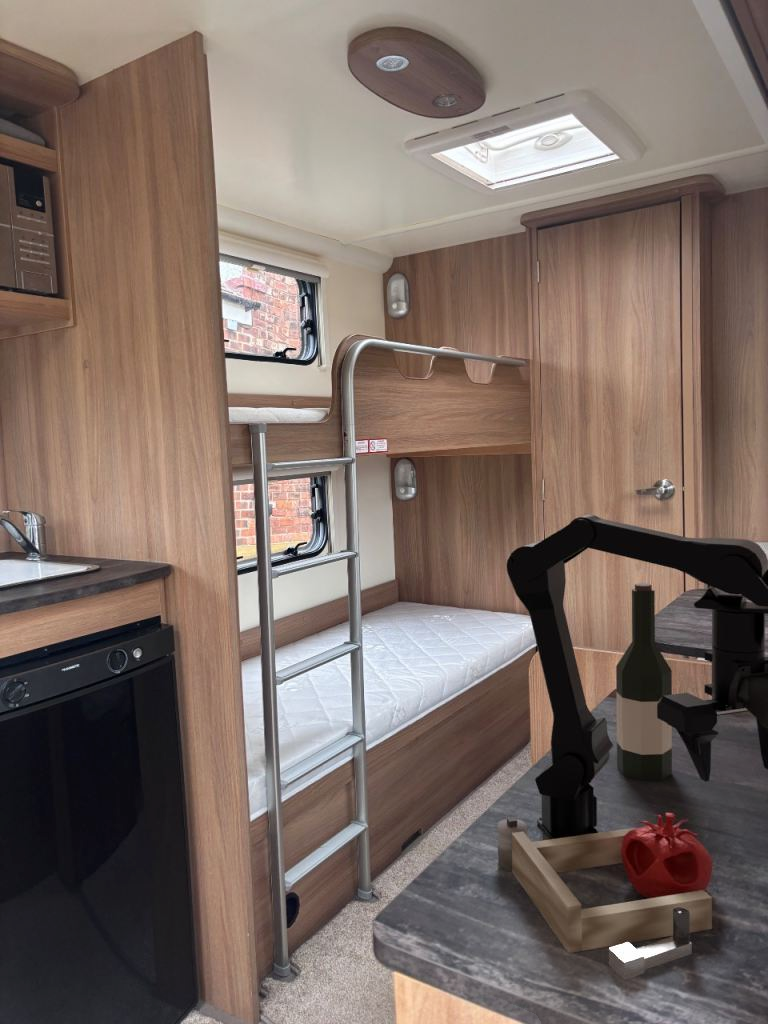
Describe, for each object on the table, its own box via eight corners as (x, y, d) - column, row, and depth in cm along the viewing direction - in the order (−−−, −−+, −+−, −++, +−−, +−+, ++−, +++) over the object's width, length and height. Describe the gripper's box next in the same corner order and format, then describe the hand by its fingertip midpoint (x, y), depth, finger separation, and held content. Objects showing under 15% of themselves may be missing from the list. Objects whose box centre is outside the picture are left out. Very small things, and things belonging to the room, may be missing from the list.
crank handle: (624, 980, 76) (624, 939, 76) (608, 965, 78) (608, 925, 78) (696, 955, 79) (696, 916, 79) (679, 942, 82) (679, 903, 81)
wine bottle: (683, 775, 122) (683, 586, 120) (640, 785, 119) (639, 591, 117) (647, 756, 130) (646, 578, 128) (606, 765, 127) (604, 583, 124)
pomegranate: (636, 861, 98) (635, 788, 98) (721, 883, 92) (720, 806, 92) (610, 897, 90) (608, 818, 90) (701, 924, 84) (700, 840, 84)
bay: (558, 954, 80) (558, 900, 80) (494, 858, 99) (493, 814, 99) (711, 928, 84) (711, 877, 83) (621, 840, 103) (620, 798, 102)
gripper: (719, 673, 82) (718, 816, 83) (859, 655, 87) (856, 790, 88) (654, 648, 93) (654, 775, 94) (782, 633, 98) (780, 754, 99)
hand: (737, 774), depth 94 cm, fingers open, 9 cm apart
